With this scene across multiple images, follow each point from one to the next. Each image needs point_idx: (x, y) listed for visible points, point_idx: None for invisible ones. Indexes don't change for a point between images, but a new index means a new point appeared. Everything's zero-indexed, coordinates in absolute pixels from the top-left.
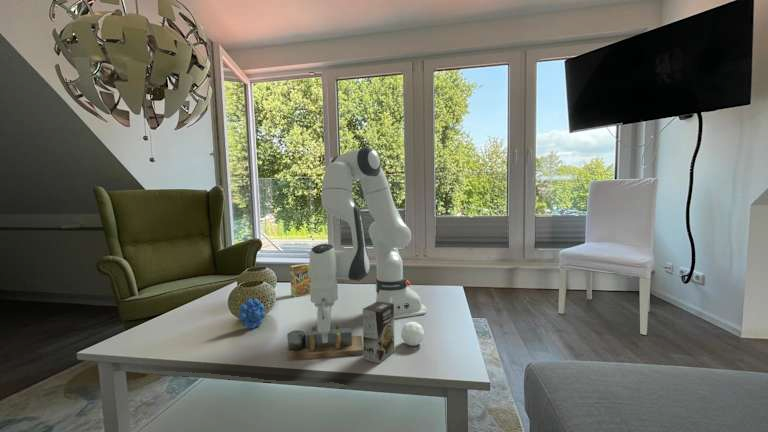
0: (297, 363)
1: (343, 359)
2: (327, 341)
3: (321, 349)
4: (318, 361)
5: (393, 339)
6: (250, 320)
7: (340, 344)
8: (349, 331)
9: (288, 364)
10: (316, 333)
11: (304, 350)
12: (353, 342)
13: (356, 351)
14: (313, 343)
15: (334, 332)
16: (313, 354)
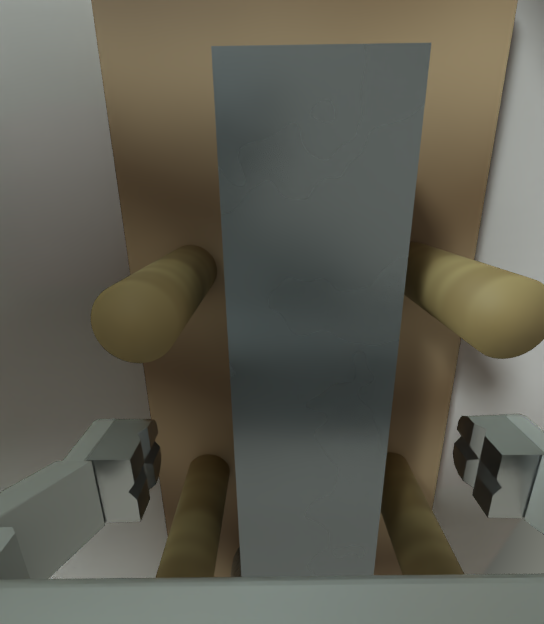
0: (464, 518)
1: (521, 210)
2: (527, 419)
3: None
4: (483, 402)
5: None
6: None
7: (436, 248)
8: (390, 92)
9: (459, 559)
10: (341, 563)
11: None
12: None
13: (498, 57)
14: (437, 524)
15: (364, 361)
16: (438, 457)
